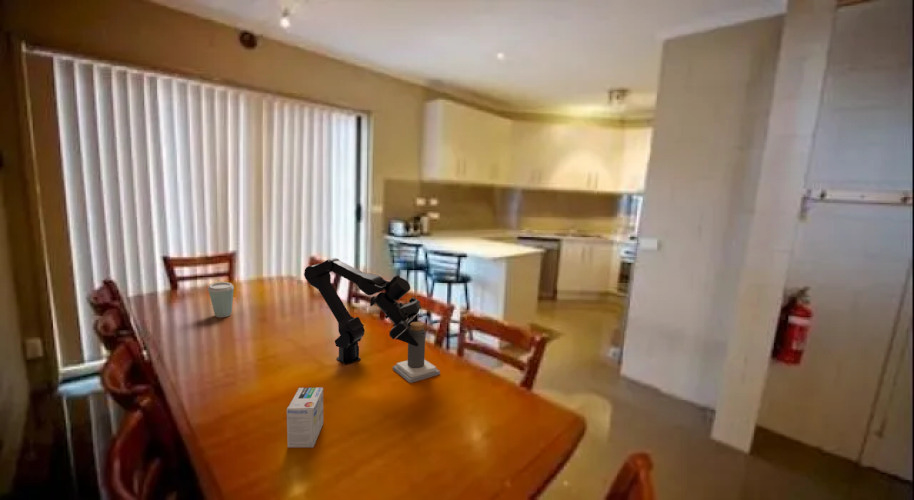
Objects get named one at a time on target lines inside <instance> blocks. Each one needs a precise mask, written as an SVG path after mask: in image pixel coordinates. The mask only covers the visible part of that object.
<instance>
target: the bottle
mask: <svg viewBox="0 0 914 500" xmlns="http://www.w3.org/2000/svg"><path fill="white" fill-rule="evenodd" d="M424 324H425V323H424V322H421V321H419V322H412V323H410V326H411V328H410V332H411V334H412V335H413V336H414V338H415V339H416V341H417V342H418V344H419V345H418V346H417V347H416V346H414V345H411V344H409V343H407V360H408V366H409V367H411V368H420V367H423V366H424V359H425V354H426V353H425V352H426V351H425V349H426V336H425V335H426V334H425V328H424V326H425V325H424ZM422 333H424V334H425V335H424V334H422Z"/></svg>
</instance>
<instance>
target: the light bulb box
mask: <svg viewBox="0 0 914 500" xmlns="http://www.w3.org/2000/svg"><path fill="white" fill-rule="evenodd" d="M323 425H324V387H298V388H297V390H296V393H295V394H294V397H293V398H292V399H291V401H290V403H289V405H288V406H287V408H286V430H287V431H286V434H287V435H286V438H287V448H314V447H315V445H316V443H317V439H318V437H319V435H320V433H321V431H322V428H323Z"/></svg>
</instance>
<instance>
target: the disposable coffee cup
mask: <svg viewBox="0 0 914 500" xmlns="http://www.w3.org/2000/svg"><path fill="white" fill-rule="evenodd" d="M234 289H235V287H234V285H233V284H232V283H231V282H227V281H219V282H217V281H216V282H213V283H211V284H209V285H208V287H207V291H208V294H209V297H210V303H211V305H212V309H213V312H214V315H215V317H216V318H227V317H230V316H231V315H232V311H233V301H234Z"/></svg>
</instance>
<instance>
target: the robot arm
mask: <svg viewBox="0 0 914 500" xmlns="http://www.w3.org/2000/svg"><path fill="white" fill-rule="evenodd" d="M331 272H332V273H334V274H336V275H338V276H340V277H342V278H344V279H346V280H348V281H350V282H351V283H353V284H355V285H356V286H357V287H358V289H359V291H361V292H363V293H364V294H365V295H367V296H371V297H370V300H369V301H370V303H369V304H370V306H369V307H372V306H374V305H375V304H376V306H378V308H379V309H380V310H381V311H382V312H383V313H384V314H385V316H384V318H386V320H387V319H390V321H391V322H392V324H393V325H392V326H393V327H392V328H391V329H390V330H389V331H388V332H389V337H390V338H391V339H392V340H395V341H396V340H397V341H400V342H404V343H406V344H408V343H409V344H411V345H414V346H416V347H417V346H418V345H419V344H418V342H417V341H416V339H415V338H414V336H413V335H412V334H411V332H410V328H411V326H410V323H412V322H420V321H419V316H420V314H419V312H420V310H421V309H422V307H421V305H420V304H421V301H420V300H419V299H417V298H416V297H415V296H414V297H411V298H410V299H409V301H408V302H407V303H405V304H403V302H398V301H399V300H400V299H402V298H403V297H404V296H405V295H407V293H409V292H410V291H411V284H410V282H409V281H408V280H406V279H405V278H403V277H400V275H399V274H397V275H394V276H393V278H392V279H391V280H390V281H389V280H386V279H384V278H383V277H382V276H380V275H378V274H373V273H366V272H363V271H361V270H359V269H357V268H355V267H354V266H351V265H350V264H347V263H346V262H344V261H341V260H340V259H339V258H336V257H334V258H328V259H326V260H325V261H323V262H321V263H316V264H313V265H309V266H306V267H305V268H304V273H303V276H304V278H305V279H306V281H307V282H308V283H309V285H311V286H312V287H313V288H315V289H317V290H318V291H319V294H320V295H321V297H322V298H323V300H324V301H325V303H326V304H327V306H328V308H329V310H330V311H331V313H332V315H333V317H335V320H336V321H337V324H338V326H337V327H338V328H337V329H338V333H339V336H338V337H337V338H336V339H335V340H334V343H335V347H337V348H338V356H337V357H336V360H338V361H340V363H342V364H343V365H349V364H351V363H354V362H358V361H360V360H361V357H359V356H360V346H359V342H361V341H362V338H363V337H364V335H365V332H366V331H365V327H364V326H365V325H364V324H363V323H362V321H361V318H360V317H359V316H355V317H354V316H352V315H351V314H350V312H349V311H348V308H346V305H345V304H344V303H343V300H342V299H341V298H340V296H339V294H338V293H337V291H336V289H335V288H334V286H333V285H332V281H331V278H332V277H331ZM375 294H377V295H375ZM373 295H375V296H373ZM422 334H424V335H426V334H425V332H424V333H422Z"/></svg>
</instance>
